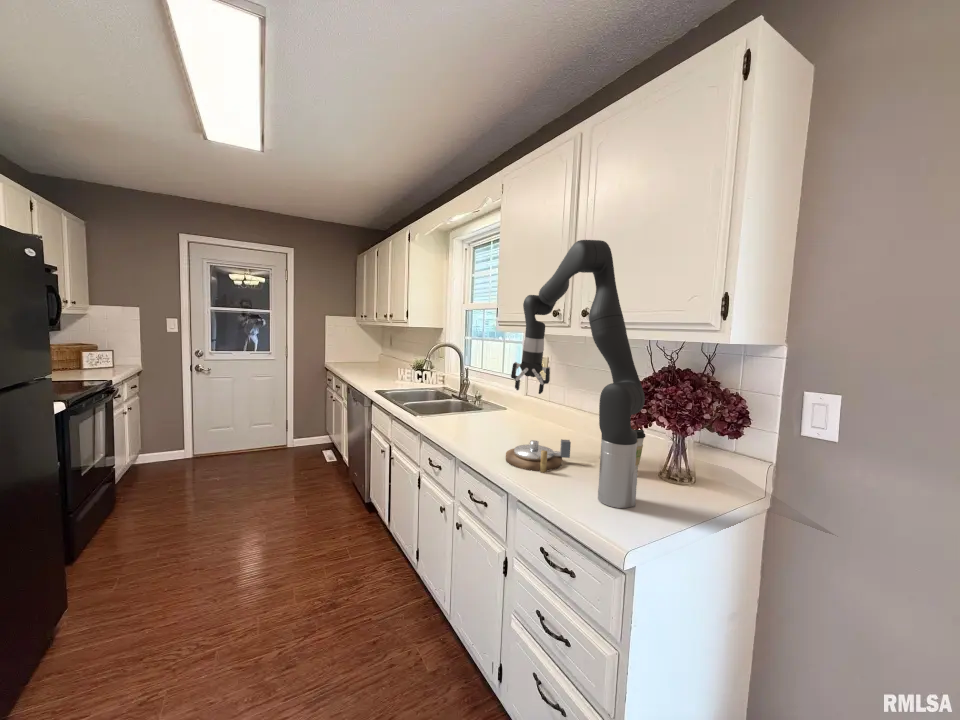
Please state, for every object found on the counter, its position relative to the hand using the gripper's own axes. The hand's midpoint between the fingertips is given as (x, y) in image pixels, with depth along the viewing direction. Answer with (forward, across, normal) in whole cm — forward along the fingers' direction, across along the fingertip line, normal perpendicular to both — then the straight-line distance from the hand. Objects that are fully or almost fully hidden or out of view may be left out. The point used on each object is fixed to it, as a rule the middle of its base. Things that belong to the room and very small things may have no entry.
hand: (528, 391), depth 148 cm
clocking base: (+22, +6, -11) cm, 25 cm away
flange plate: (+19, +9, -10) cm, 24 cm away
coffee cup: (+20, +38, -10) cm, 44 cm away
